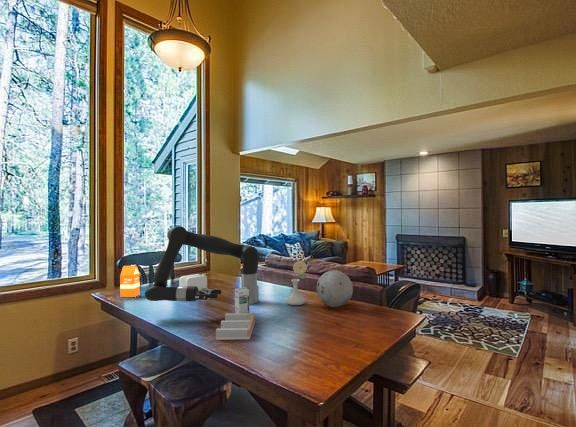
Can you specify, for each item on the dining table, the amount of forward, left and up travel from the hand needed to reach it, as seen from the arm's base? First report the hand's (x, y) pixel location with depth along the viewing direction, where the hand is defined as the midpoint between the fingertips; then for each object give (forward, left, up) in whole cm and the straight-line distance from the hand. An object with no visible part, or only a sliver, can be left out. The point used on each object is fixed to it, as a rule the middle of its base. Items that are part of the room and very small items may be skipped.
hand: (219, 293), depth 160 cm
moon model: (-57, +27, -12) cm, 64 cm away
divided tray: (+2, +21, -12) cm, 24 cm away
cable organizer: (-12, -58, -12) cm, 61 cm away
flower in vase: (-45, +9, -12) cm, 47 cm away
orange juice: (+22, -78, -12) cm, 82 cm away
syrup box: (-9, +7, -12) cm, 17 cm away
